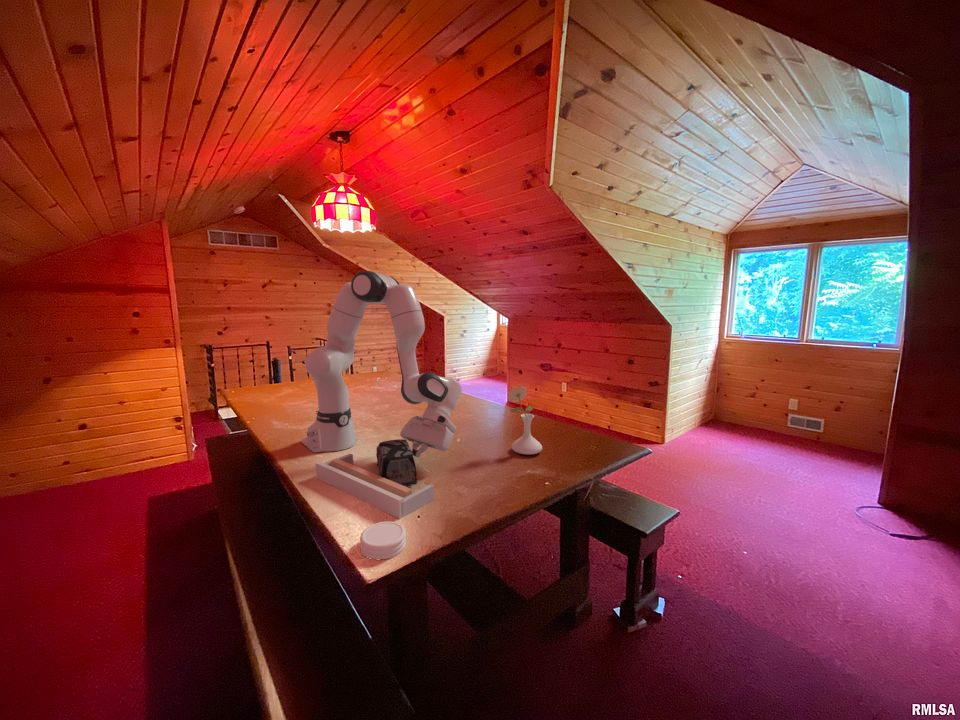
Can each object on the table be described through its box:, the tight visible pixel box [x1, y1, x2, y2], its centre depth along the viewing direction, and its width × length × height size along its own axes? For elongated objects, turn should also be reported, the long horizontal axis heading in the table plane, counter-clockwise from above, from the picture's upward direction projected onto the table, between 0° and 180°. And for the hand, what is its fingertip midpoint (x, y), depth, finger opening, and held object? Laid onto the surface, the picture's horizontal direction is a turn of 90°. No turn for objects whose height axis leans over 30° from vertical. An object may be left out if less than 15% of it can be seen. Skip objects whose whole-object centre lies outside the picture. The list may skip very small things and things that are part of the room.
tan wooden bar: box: [330, 457, 413, 498], centre depth 113 cm, size 35×2×5 cm, turn 53°
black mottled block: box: [375, 438, 418, 487], centre depth 124 cm, size 11×25×10 cm, turn 19°
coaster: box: [359, 521, 407, 560], centre depth 87 cm, size 10×10×4 cm
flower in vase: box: [507, 385, 543, 456], centre depth 141 cm, size 13×11×25 cm
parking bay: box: [314, 453, 435, 520], centre depth 114 cm, size 39×12×5 cm, turn 53°
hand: (414, 455), depth 128 cm, fingers closed
